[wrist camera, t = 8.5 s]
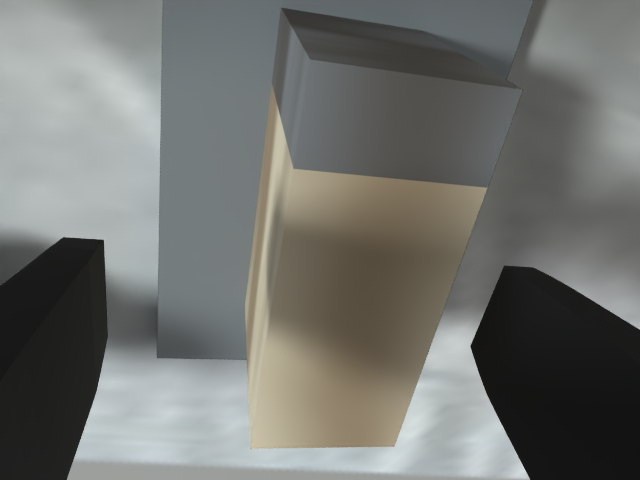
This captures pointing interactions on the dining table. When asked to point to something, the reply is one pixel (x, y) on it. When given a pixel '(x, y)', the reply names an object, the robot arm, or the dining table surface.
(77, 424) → the robot arm
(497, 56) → the slate board
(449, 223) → the capped box
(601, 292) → the dining table surface
